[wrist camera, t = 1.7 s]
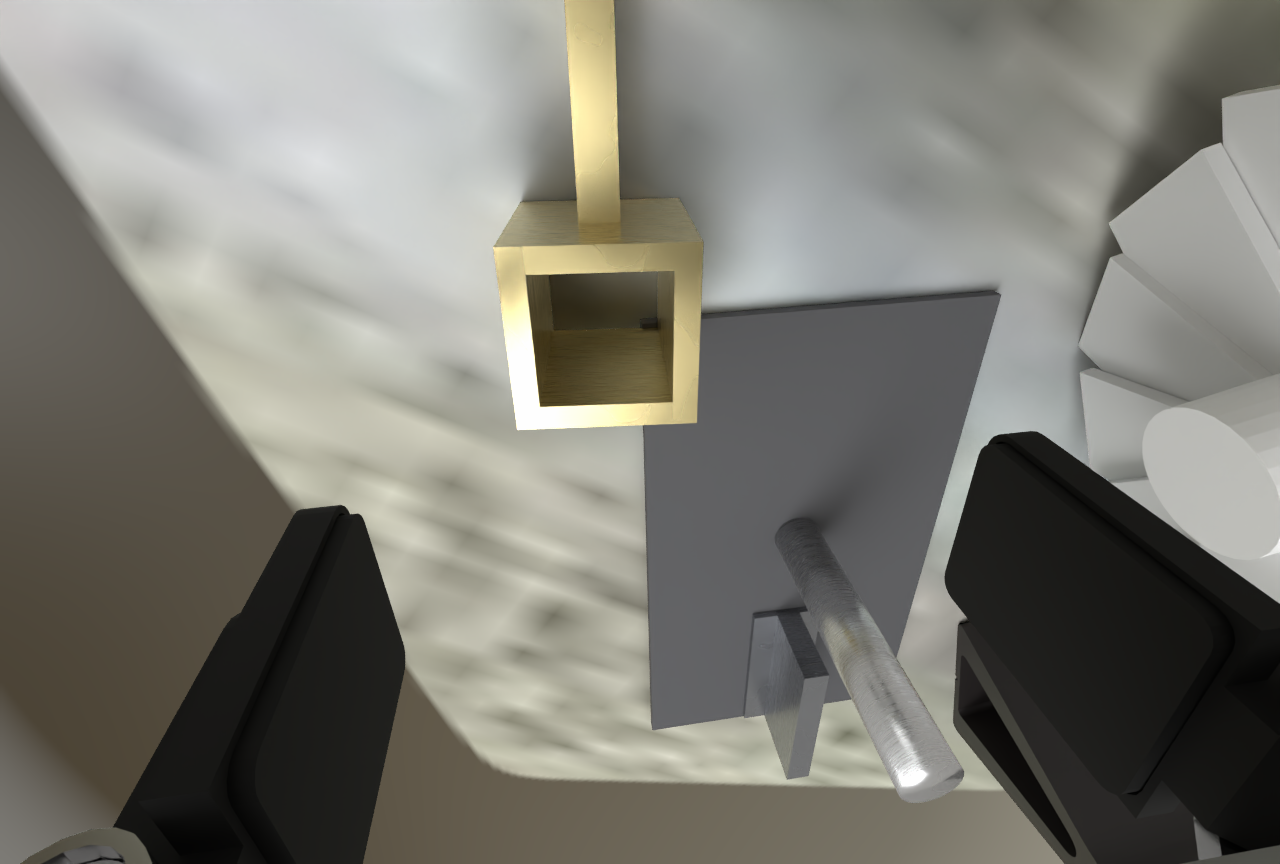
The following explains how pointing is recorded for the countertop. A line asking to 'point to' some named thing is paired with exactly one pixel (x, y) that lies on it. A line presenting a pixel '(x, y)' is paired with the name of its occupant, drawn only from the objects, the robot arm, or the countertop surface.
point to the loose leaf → (599, 271)
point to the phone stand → (1054, 771)
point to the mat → (800, 476)
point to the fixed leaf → (797, 678)
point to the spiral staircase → (1198, 347)
